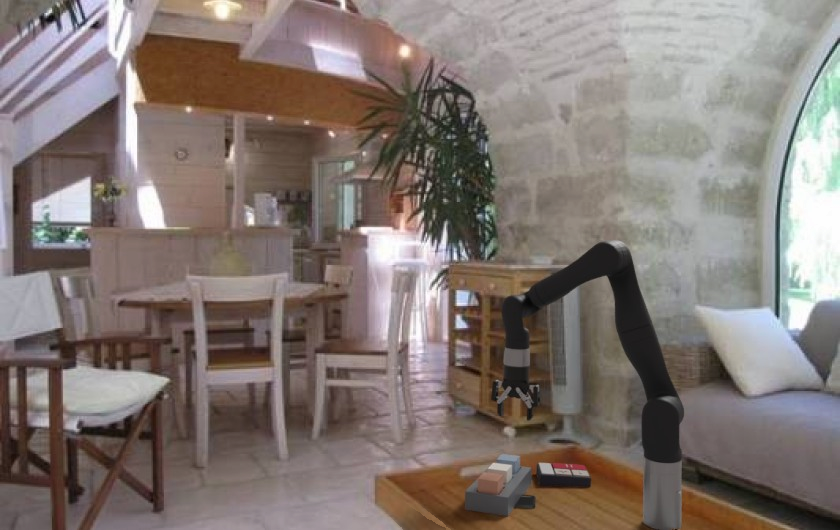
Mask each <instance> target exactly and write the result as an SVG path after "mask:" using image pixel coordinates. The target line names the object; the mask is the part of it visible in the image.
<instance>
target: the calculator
mask: <svg viewBox="0 0 840 530" xmlns="http://www.w3.org/2000/svg"><path fill="white" fill-rule="evenodd" d="M535 471H536V478H537V481H538V484H539V486H541V487H556V486H557V487H558V486H559V487H574V488H575V487H580V488H581V487H583V488H586V487H587V488H589V487H591V486H592V477H591V475H590V472H589V471H588V469H587V467H586V466H585V465H584V464H573V463H572V464H571V463H560V462H552V463H551V462H550V463H548V462H538V463H536V470H535Z"/></svg>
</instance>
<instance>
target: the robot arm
mask: <svg viewBox="0 0 840 530" xmlns="http://www.w3.org/2000/svg"><path fill="white" fill-rule="evenodd" d="M602 277H607V279H608V282H609V284H610V287H611V290H612V293H613V298H614V299H613V300H614V324H615V328H616V332H617V335H618V339H619V342H620V345H621V347H622V349H623V352H624V353H625V356H626V358H627V359H628V360H629V362H630V363H631V365H632V366H633V369H635V372H636V373H637V374H638V377H639V378H640V380H641V383H642V386H643V389H644V392H645V393H644V394H645V398H646V402H645V404H644V405H643V407H642V410H641V411H642V412H641V446H642V449H643V482H642V483H643V486H642V487H643V489H642V490H643V491H642V492H643V493H642V495H643V496H642V498H643V499H642V502H643V503H642V504H643V505H642V509H643V510H642V516H643V517H642V522H643V524H644V525H645V526H647V527H649V528H651V529H655V530H658V529H659V530H671V529H680V528H682V508H683V506H682V503H683V502H682V498H683V497H682V495H683V494H682V493H683V491H682V490H683V487H682V486H683V485H682V466H683V465H682V462H683V461H682V457H683V456H682V455H683V451H682V448H681V446H680V445H681V444H680V425H681V423H682V422H683V420H684V417H685V408H684V405H683V402H682V400H681V398H680V396H679V393H678V392H677V389H676V387H675V385H674V383H673V381H672V379H671V377H670V374H669V372H668V369H667V366H666V361H665V357H664V355H663V351H662V347H661V345H660V341H659V339H658V338H659V337H658V334H657V332H656V329H655V326H654V324H653V320H652V318H651V315H650V313H649V311H648V307H647V304H646V301H645V299H644V297H643V294H642V291H641V289H640V288H641V287H640V286H639V282H638V278H637V273H636V269H635V265H634V261H633V256H632V252H631V250H630V249H629V247H628V246H627V245H626V243H624V242H623V241H620V240H618V239H610V240H603V241H600V242H597V243H595V244H594V245H593V246H592V247H591V248H589V249H588V250H587V251H586V252H585V253H583V254H582V255H581V256H579V257H578V258H577V259H576V260H575V261H573V262H571V263H569V264H568V265H566V266H565V267H564V268H561V269H560V270H558V271H556V272H554V273H552V274H550V275H548V276H547V277H545V278H542V279H541V280H539V281H537V282H535V283H534V284H533V285H531V286H530V288H529V290H527V291H526V292H523V293H521V294H513V295H509V296H507V297H504V300H503V301H502V304H501V310H500V311H501V318H502V323H503V327H504V328H503V329H504V332H505V336H504V337H505V341H504V352H503V371H502V372H503V375H502V378H503V380H502V381H501V380H499V379H494V380H493V381H492V383H491V384H492V385H491V386H492V387H491V396H490V397H491V401H493V402H495V403H497V405H496V407H497V410H496V413H497V415H498V416H499V417H501V418H502V417H503V416H505V415H504V414H505V402H504V401H505V400H506V399H507V398H508V397H509V398H512V399H513V398H514V399H521V400H522V401H523V402H524V404H525V405H526V406H527V408H526V421H527V422H528V421H529V422H530V421H531V420H532V419H533V418H534V411H535V410H534V409H535V408H536V407H538V406H541V385H539V384H535V385H534V384H530V371H531V369H530V368H531V367H530V366H531V365H530V364H531V363H530V362H531V354H530V353H531V352H530V339H531V337H530V331H529V329H528V328H527V327H525V326H524V320H523V319H527V318H530V317H533V316H534V315H536V314H537V313H538V312H540V311H541V310H542V309H543V308H545V307H547V306H549V305H551V304H554V303H555V302H557V301H558V300H560V299H563V298H564V297H565V296H567V295H568V294H569V293H571V292H572V291H574V290H575V289H577V287H579V286H582V284H586V283H587V282H589V281H593V280H596V279H600V278H602ZM501 386H502V388H503V390H504V391H503V392H502V393H501V395H500V396H499V390H500V388H501ZM530 390H531V393H532V394H533V396H531V395H530V394H529V391H530ZM531 397H533V400H532V398H531ZM680 530H681V529H680Z"/></svg>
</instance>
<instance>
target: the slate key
mask: <svg viewBox="0 0 840 530" xmlns="http://www.w3.org/2000/svg"><path fill="white" fill-rule="evenodd" d="M496 463H500V464H508V465H512V474H516V473H517V472H518V471H519V470H520V466H521V455H515V454H506V453H505V454H504V453H501V454H500V455H499V456H498V458H496Z"/></svg>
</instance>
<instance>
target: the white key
mask: <svg viewBox="0 0 840 530" xmlns="http://www.w3.org/2000/svg"><path fill="white" fill-rule="evenodd" d="M492 463H493V464H492ZM492 463H491V464H492V465H491V464H490V465H491V466H490V465H489V466H490V467H489V466H488V467H489V468H488V467H487V468H488V473H493V474H500V475H503V483H504V484H508V483H509V482H510V480H511V479H512V465H508V464H500V463H497V462H492Z"/></svg>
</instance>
